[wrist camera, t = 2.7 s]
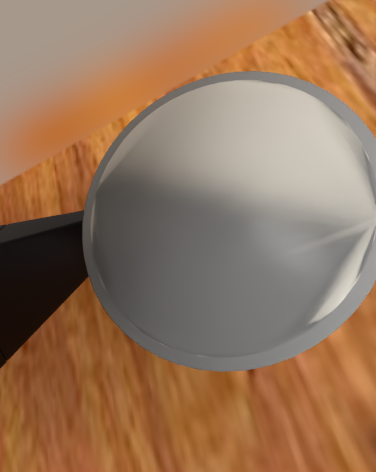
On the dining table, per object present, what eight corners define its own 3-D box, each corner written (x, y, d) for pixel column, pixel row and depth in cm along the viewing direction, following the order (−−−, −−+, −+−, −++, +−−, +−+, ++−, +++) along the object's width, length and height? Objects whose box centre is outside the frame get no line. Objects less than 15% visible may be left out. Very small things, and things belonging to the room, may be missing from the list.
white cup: (253, 351, 15) (162, 442, 4) (199, 267, 18) (48, 189, 7) (343, 292, 15) (500, 228, 4) (275, 212, 17) (247, 24, 6)
